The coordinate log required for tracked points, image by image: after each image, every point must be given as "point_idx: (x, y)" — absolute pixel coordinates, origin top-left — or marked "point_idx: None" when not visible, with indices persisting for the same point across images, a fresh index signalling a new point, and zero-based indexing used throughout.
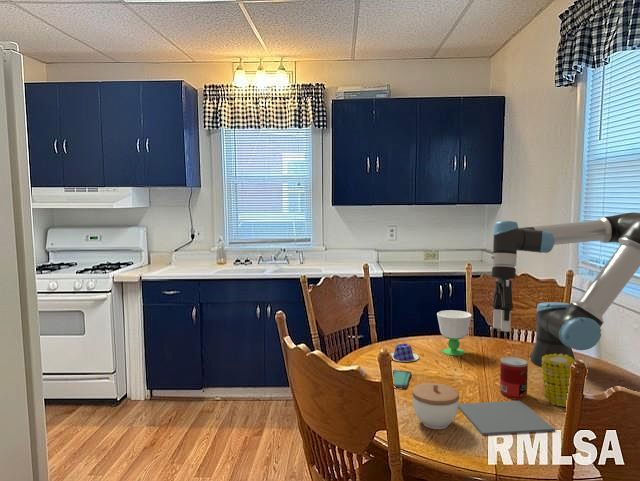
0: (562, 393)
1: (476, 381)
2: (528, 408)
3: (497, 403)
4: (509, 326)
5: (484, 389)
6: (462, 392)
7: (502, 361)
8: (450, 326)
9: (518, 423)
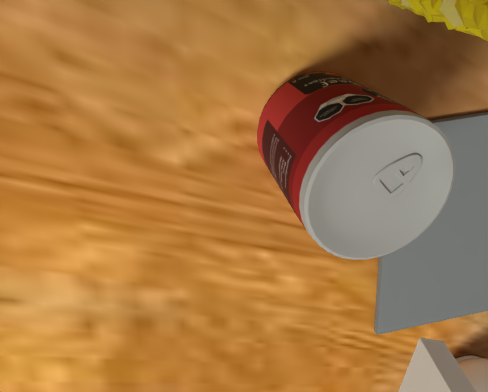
0: None
1: (158, 238)
2: (460, 123)
3: None
4: (466, 389)
5: (249, 225)
6: (273, 302)
7: (375, 257)
8: None
9: None
